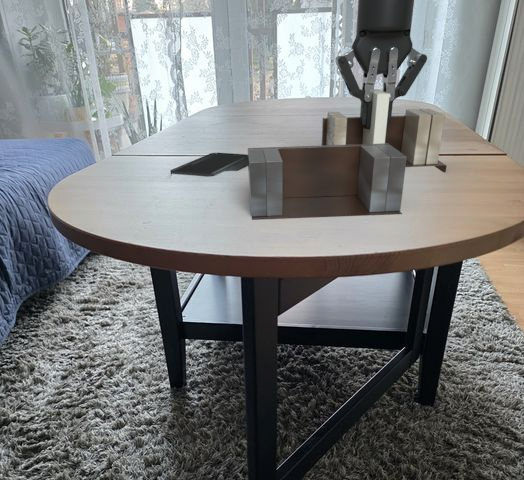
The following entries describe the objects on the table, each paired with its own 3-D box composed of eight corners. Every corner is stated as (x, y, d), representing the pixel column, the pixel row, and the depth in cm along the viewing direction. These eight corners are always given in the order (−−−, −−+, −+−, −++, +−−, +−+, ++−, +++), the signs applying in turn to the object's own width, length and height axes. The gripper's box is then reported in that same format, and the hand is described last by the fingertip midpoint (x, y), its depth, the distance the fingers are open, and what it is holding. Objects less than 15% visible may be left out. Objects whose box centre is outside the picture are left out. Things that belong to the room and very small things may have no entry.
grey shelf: (382, 200, 66) (388, 143, 62) (401, 222, 58) (409, 158, 54) (249, 205, 65) (247, 148, 61) (251, 228, 57) (249, 164, 54)
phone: (253, 154, 86) (212, 174, 74) (253, 161, 87) (213, 182, 75) (212, 152, 89) (166, 171, 77) (213, 159, 89) (167, 178, 78)
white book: (371, 156, 84) (377, 89, 78) (382, 166, 78) (389, 93, 72) (361, 157, 84) (366, 89, 78) (371, 166, 78) (377, 94, 72)
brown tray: (426, 159, 85) (434, 107, 81) (445, 172, 78) (455, 115, 74) (320, 163, 85) (322, 111, 81) (329, 176, 77) (332, 119, 73)
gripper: (341, -11, 66) (334, 133, 75) (446, -13, 66) (426, 130, 75) (332, -7, 72) (326, 125, 81) (427, -9, 72) (411, 123, 82)
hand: (374, 127), depth 78 cm, fingers closed on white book, 2 cm apart
